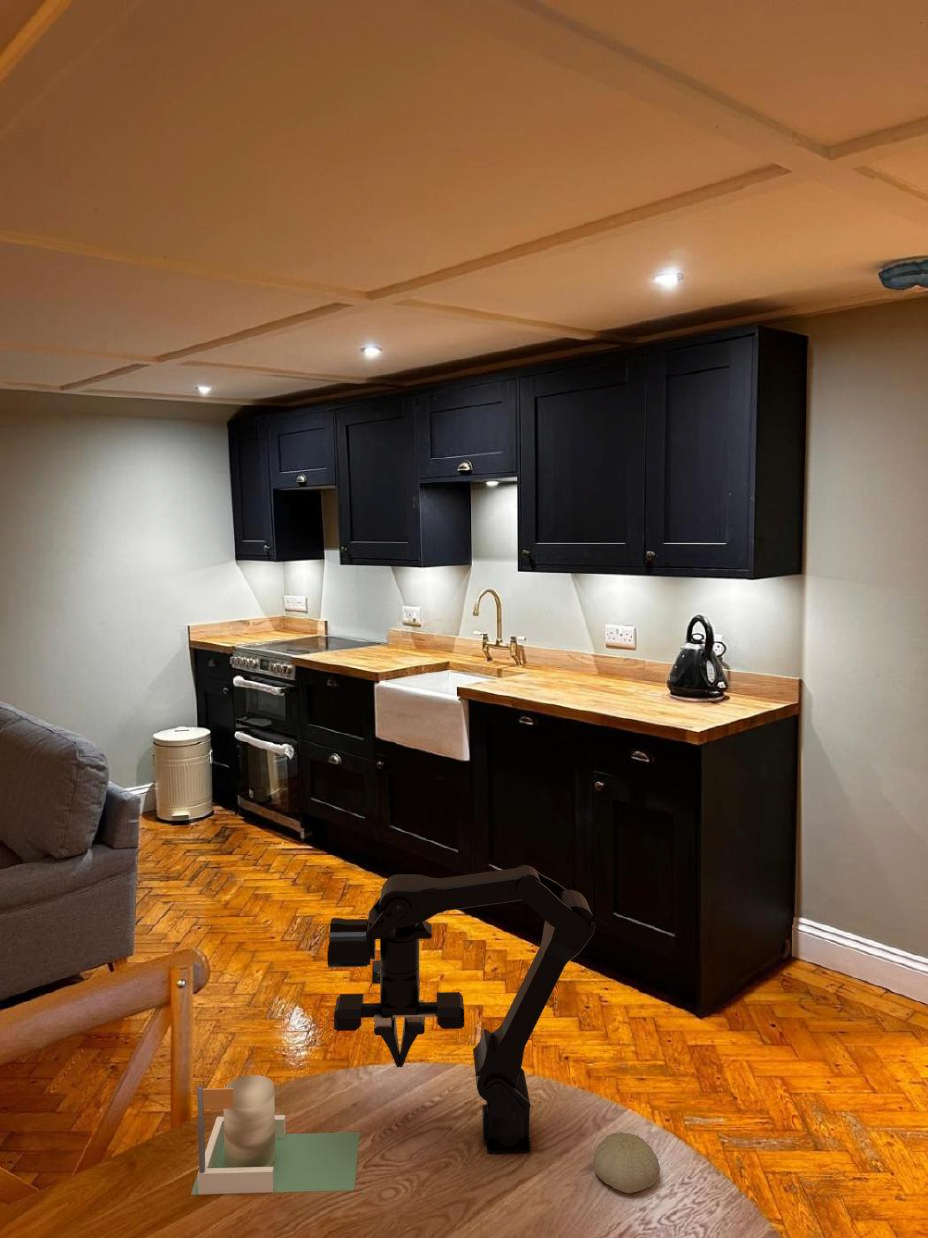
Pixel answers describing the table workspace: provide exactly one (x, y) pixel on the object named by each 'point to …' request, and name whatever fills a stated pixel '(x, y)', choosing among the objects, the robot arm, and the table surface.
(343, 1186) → the putting mat
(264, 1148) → the birch cylinder
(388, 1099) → the table surface
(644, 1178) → the sea urchin shell
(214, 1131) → the white frame
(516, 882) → the robot arm
